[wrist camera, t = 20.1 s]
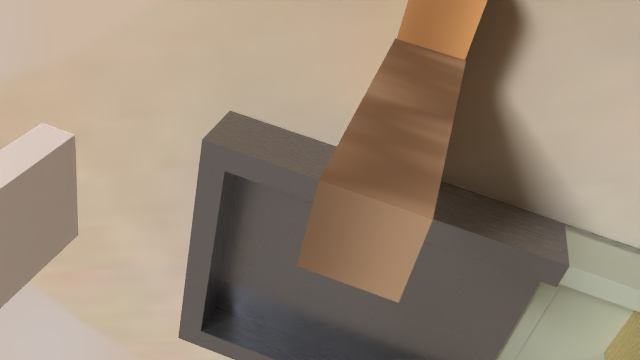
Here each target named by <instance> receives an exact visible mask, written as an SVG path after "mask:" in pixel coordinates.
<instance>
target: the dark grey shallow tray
mask: <svg viewBox="0 0 640 360" xmlns="http://www.w3.org/2000/svg"><path fill="white" fill-rule="evenodd" d="M336 148H337V147H335V146H332V145H329V144H326V143H323V142H320V141H317V140H314V139H312V138H309V137H306V136H303V135H300V134H297V133H294V132H291V131H288V130H285V129H282V128H279V127H276V126H273V125H270V124H267V123H264V122H261V121H258V120H255V119H252V118H249V117H246V116H243V115H240V114H237V113H234V112H231V111H229V112H228V113H227V114H226V115H225V116H224V118H223V119H222V120H221V121H220V122H219V123H218V124H217V125H216V126H215V127H214V128H213V129H212V130H211V131H210V132H209V133H208V134H207V135H206V136H205V137H204V138H203V139H202V147H201V155H200V163H199V172H198V180H197V188H196V197H195V205H194V213H193V222H192V230H191V238H190V247H189V255H188V263H187V272H186V280H185V288H184V296H183V305H182V313H181V321H180V330H179V338H180V339H183V340H185V341H188V342H191V343H193V344H196V345H198V346H201V347H204V348H206V349H209V350H211V351H214V352H216V353H219V354H222V355H224V356H227V357H229V358H232V359H235V360H495V358H496V356H497V355H498V353H499V351H500V350H501V348H502V346H503V345H504V343H505V341H506V339H507V338H508V336H509V334H510V333H511V331H512V329H513V327H514V326H515V324H516V322H517V321H518V319H519V317H520V316H521V314H522V312H523V310H524V309H525V307H526V305H527V304H528V302H529V300H530V298H531V297H532V295H533V293H534V292H535V290H536V288H537V286H538V285H539V283H540V282H543V283H546V284H549V285H552V286H555V287H557V286H558V284H559V283H560V281H561V279H562V278H563V276H564V275H565V273H566V271H567V270H568V268H569V266H570V265H569V256H568V247H567V238H566V229H565V224H564V223H561V222H558V221H555V220H552V219H549V218H546V217H543V216H540V215H537V214H534V213H531V212H528V211H525V210H522V209H519V208H516V207H513V206H510V205H507V204H504V203H501V202H498V201H495V200H492V199H489V198H486V197H484V196H481V195H478V194H475V193H472V192H469V191H466V190H463V189H460V188H457V187H454V186H451V185H448V184H445V183H442V182H441V183H440V188H439V193H438V197H437V202H436V207H435V212H434V216H433V220H432V223H431V225H430V228H429V230H428V232H427V235H426V237H425V240H424V242H423V245H422V247H421V249H420V252H419V254H418V257H417V259H416V262H415V264H414V267H413V269H412V271H411V274H410V276H409V279H408V281H407V284H406V286H405V288H404V291H403V293H402V296H401V298H400V301H399V303H398V302H395V301H392V300H389V299H387V298H384V297H381V296H378V295H376V294H373V293H370V292H367V291H365V290H362V289H359V288H356V287H354V286H351V285H348V284H345V283H343V282H340V281H337V280H334V279H332V278H329V277H326V276H323V275H321V274H318V273H315V272H312V271H310V270H307V269H304V268H301V267H299V266H297V262H298V259H299V255H300V251H301V247H302V243H303V239H304V236H305V232H306V228H307V224H308V220H309V216H310V213H311V209H312V205H313V201H314V197H315V193H316V190H317V186H318V182H319V179H320V177H321V175H322V174H323V172H324V170H325V168H326V166H327V164H328V163H329V161H330V159H331V157H332V155H333V153H334V151H335V150H336Z"/></svg>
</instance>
